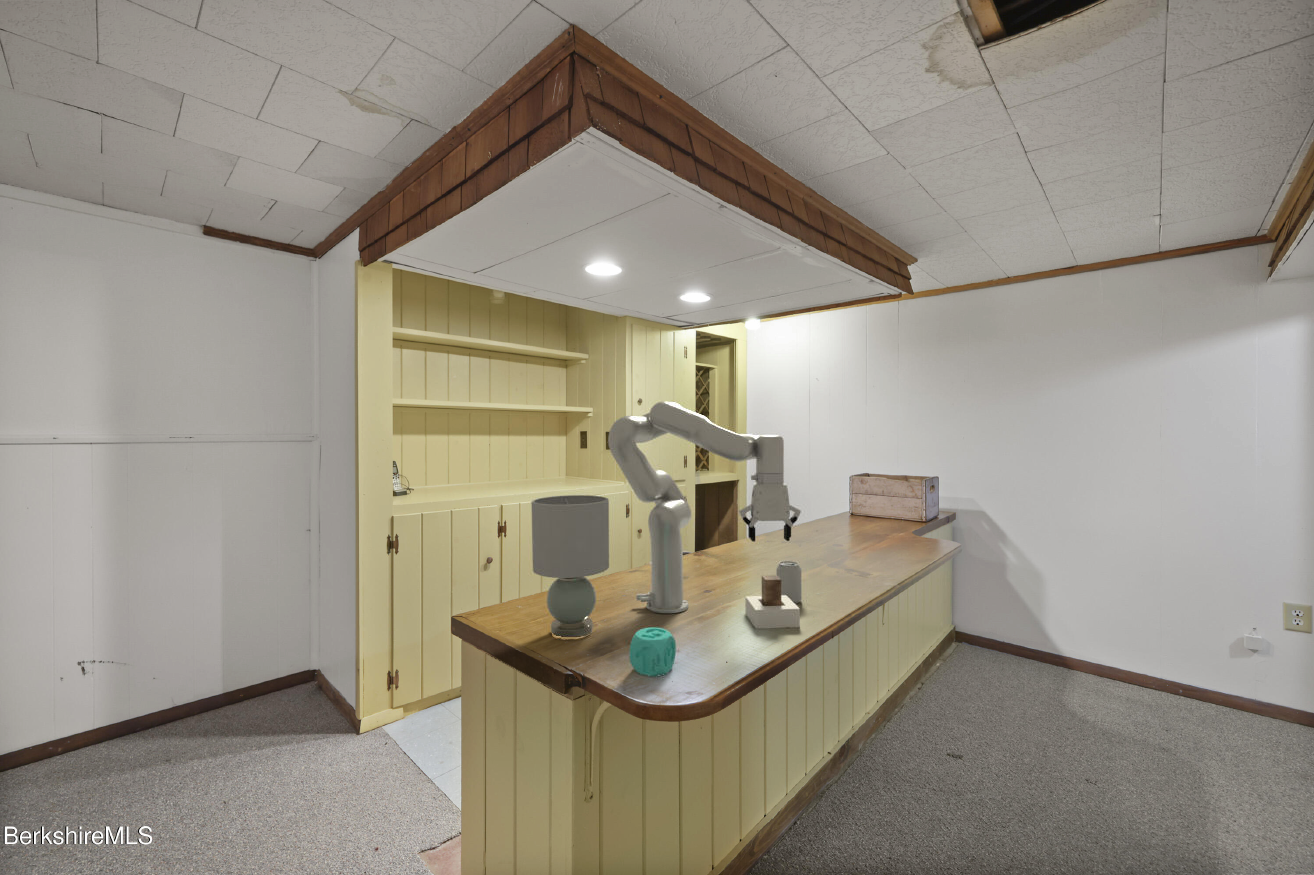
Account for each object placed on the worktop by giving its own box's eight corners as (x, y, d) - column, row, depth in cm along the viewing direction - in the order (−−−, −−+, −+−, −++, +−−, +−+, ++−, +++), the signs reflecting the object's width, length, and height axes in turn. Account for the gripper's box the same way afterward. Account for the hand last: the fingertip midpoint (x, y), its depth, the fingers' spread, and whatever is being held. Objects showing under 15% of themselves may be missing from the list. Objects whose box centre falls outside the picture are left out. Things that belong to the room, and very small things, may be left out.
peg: (765, 623, 152) (765, 579, 151) (761, 617, 156) (761, 575, 156) (781, 622, 152) (781, 579, 152) (777, 617, 156) (776, 575, 156)
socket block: (755, 628, 147) (755, 610, 147) (745, 613, 159) (745, 596, 159) (799, 627, 148) (799, 608, 148) (786, 612, 160) (786, 595, 160)
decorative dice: (629, 673, 122) (628, 637, 121) (644, 659, 129) (644, 625, 129) (662, 679, 118) (661, 642, 118) (676, 664, 126) (676, 630, 125)
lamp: (565, 654, 132) (563, 507, 131) (517, 633, 145) (516, 500, 145) (625, 630, 147) (624, 498, 146) (577, 614, 160) (575, 493, 160)
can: (802, 605, 166) (801, 566, 166) (776, 604, 168) (776, 565, 167) (800, 598, 173) (800, 560, 173) (776, 596, 175) (776, 559, 175)
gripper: (742, 480, 149) (742, 543, 150) (804, 480, 150) (804, 542, 151) (736, 478, 157) (736, 538, 157) (796, 477, 158) (795, 537, 158)
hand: (769, 540), depth 154 cm, fingers open, 9 cm apart
